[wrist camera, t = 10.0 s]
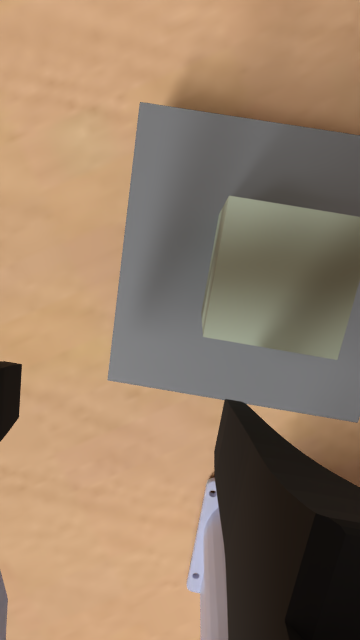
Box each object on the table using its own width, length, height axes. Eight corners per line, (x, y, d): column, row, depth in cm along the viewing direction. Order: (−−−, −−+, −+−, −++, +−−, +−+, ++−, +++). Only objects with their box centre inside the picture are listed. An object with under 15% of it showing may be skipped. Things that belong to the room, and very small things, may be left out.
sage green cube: (295, 328, 16) (337, 360, 12) (201, 312, 17) (202, 337, 12) (320, 230, 15) (377, 219, 11) (219, 214, 16) (229, 195, 11)
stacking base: (334, 398, 20) (357, 422, 17) (120, 362, 21) (107, 380, 18) (399, 165, 17) (441, 147, 14) (149, 127, 18) (139, 102, 15)
